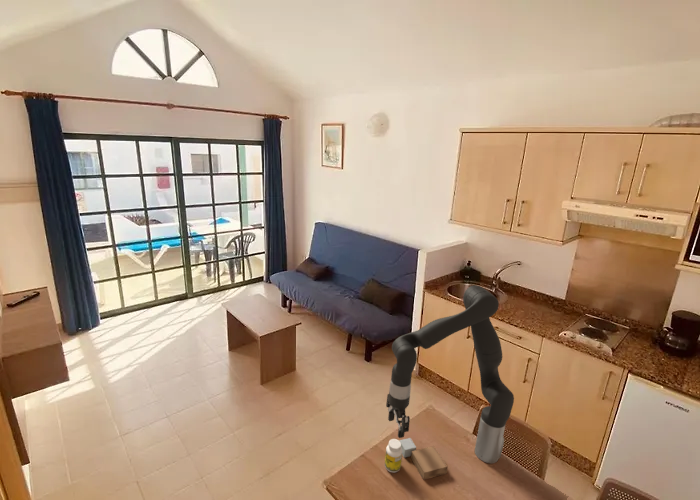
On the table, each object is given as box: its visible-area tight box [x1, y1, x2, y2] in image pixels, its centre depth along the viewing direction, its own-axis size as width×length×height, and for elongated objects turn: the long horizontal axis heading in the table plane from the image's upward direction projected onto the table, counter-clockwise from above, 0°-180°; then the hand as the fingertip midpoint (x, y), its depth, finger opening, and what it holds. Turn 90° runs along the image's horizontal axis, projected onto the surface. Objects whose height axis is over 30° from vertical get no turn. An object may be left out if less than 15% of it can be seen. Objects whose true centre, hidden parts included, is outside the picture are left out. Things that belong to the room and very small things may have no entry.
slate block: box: [398, 437, 417, 459], centre depth 147 cm, size 5×5×4 cm
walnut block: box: [410, 445, 448, 480], centre depth 141 cm, size 10×10×4 cm
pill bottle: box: [384, 438, 403, 473], centre depth 139 cm, size 6×6×11 cm
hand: (395, 428), depth 135 cm, fingers open, 8 cm apart
